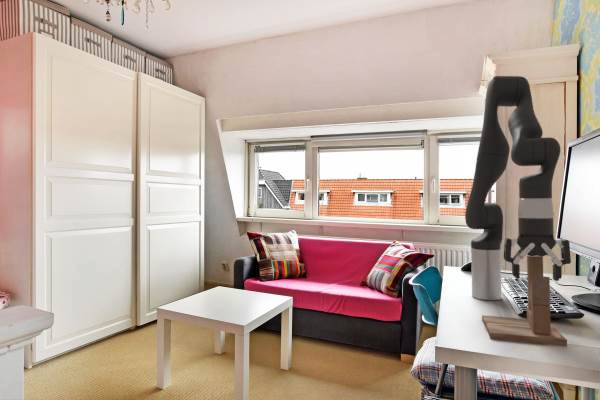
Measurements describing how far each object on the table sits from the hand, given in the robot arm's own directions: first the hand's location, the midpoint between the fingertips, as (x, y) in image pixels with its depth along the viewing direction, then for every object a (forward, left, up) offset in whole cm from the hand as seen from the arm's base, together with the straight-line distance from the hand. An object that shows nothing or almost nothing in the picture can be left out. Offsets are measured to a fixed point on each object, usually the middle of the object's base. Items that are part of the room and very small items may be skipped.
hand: (536, 279), depth 92 cm
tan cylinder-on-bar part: (0, 0, -13) cm, 13 cm away
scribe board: (0, -4, -14) cm, 14 cm away
